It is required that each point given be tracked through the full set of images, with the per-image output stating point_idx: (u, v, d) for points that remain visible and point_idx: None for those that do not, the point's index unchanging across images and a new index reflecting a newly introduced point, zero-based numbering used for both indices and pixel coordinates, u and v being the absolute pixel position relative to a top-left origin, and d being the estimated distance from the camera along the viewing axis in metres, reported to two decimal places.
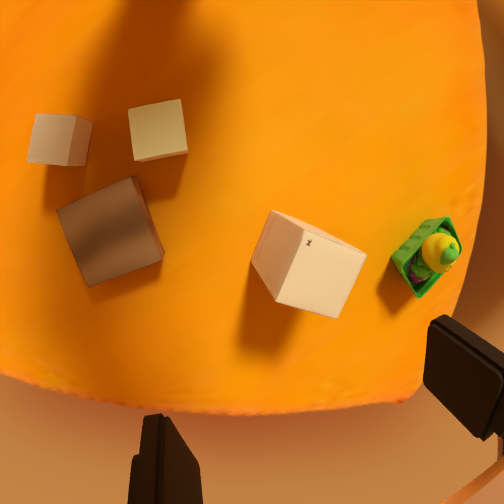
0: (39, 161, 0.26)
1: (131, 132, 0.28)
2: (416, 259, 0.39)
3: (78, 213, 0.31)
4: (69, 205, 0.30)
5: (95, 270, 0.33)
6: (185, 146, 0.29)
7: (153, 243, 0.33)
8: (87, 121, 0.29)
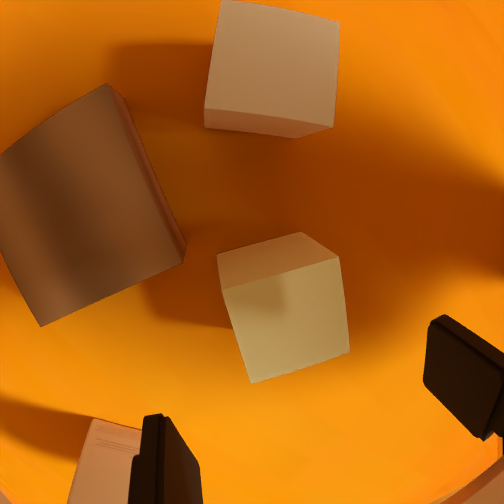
0: (220, 30, 0.10)
1: (286, 274, 0.14)
2: None
3: (97, 140, 0.13)
4: (115, 116, 0.13)
5: None
6: (257, 380, 0.15)
7: (62, 314, 0.15)
8: (303, 134, 0.16)
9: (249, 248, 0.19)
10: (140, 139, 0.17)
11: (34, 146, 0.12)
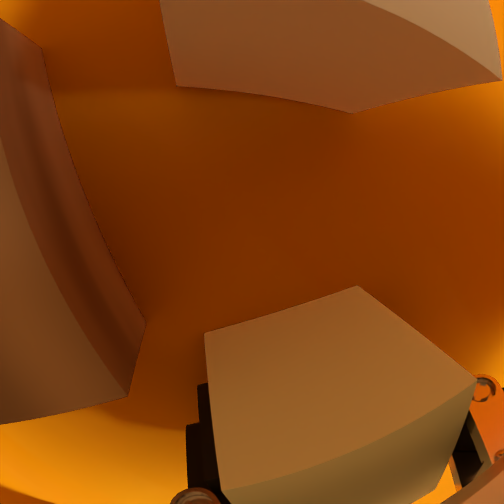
0: None
1: (378, 442, 0.04)
2: None
3: None
4: None
5: None
6: None
7: None
8: (386, 100, 0.07)
9: (267, 326, 0.09)
10: None
11: None
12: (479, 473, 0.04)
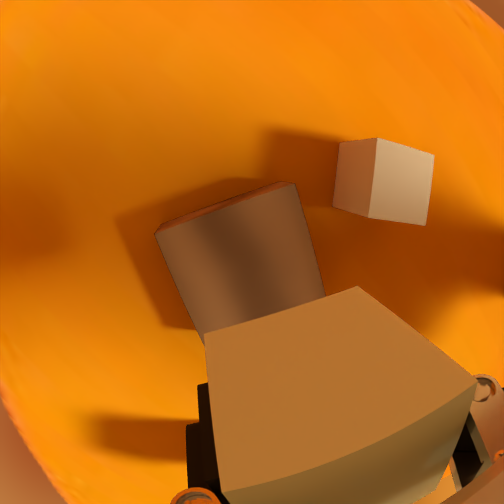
0: (377, 163, 0.19)
1: (378, 443, 0.04)
2: None
3: (286, 226, 0.21)
4: (300, 210, 0.21)
5: (186, 252, 0.21)
6: None
7: None
8: None
9: (268, 327, 0.09)
10: None
11: (230, 220, 0.20)
12: (479, 473, 0.04)
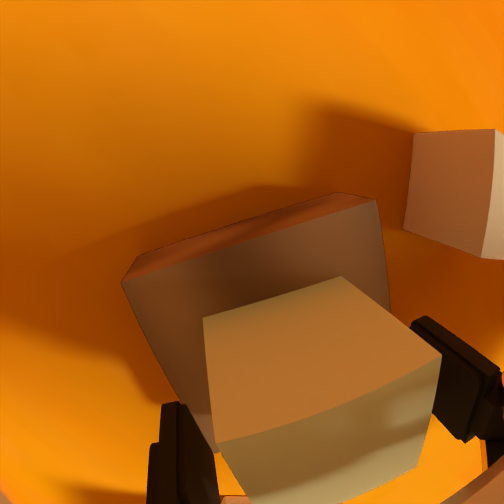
0: (495, 171, 0.09)
1: (350, 404, 0.06)
2: None
3: (357, 272, 0.12)
4: (380, 246, 0.12)
5: (180, 316, 0.11)
6: None
7: None
8: None
9: (259, 311, 0.11)
10: None
11: (263, 263, 0.11)
12: None
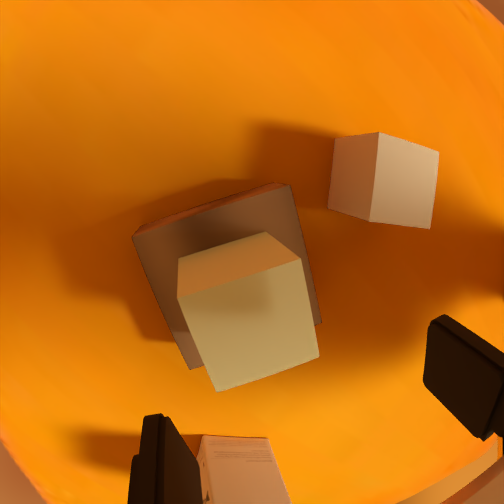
0: (379, 161, 0.17)
1: (244, 279, 0.13)
2: None
3: (279, 232, 0.19)
4: (295, 215, 0.19)
5: (167, 258, 0.18)
6: (223, 388, 0.14)
7: None
8: None
9: (211, 251, 0.18)
10: None
11: (216, 224, 0.18)
12: None
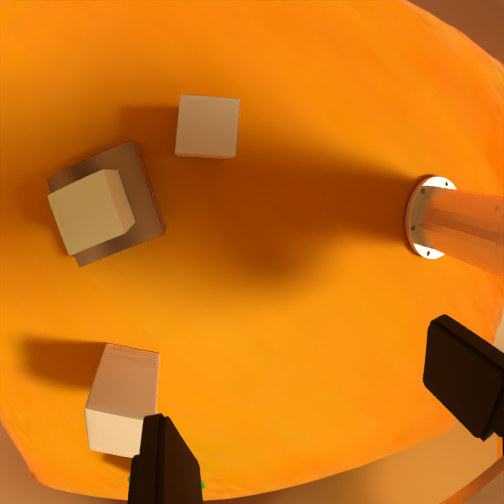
0: (180, 113, 0.25)
1: (76, 182, 0.21)
2: None
3: (126, 169, 0.28)
4: (136, 158, 0.27)
5: None
6: (72, 253, 0.23)
7: (95, 259, 0.29)
8: None
9: None
10: None
11: (90, 167, 0.27)
12: None
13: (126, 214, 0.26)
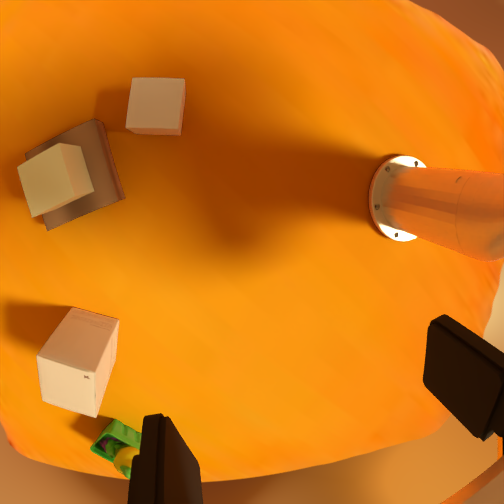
0: (131, 93, 0.27)
1: (38, 155, 0.23)
2: (118, 443, 0.38)
3: (88, 144, 0.29)
4: (96, 134, 0.29)
5: None
6: (34, 215, 0.24)
7: (60, 223, 0.31)
8: (178, 133, 0.32)
9: None
10: None
11: None
12: None
13: (82, 182, 0.27)
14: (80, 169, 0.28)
